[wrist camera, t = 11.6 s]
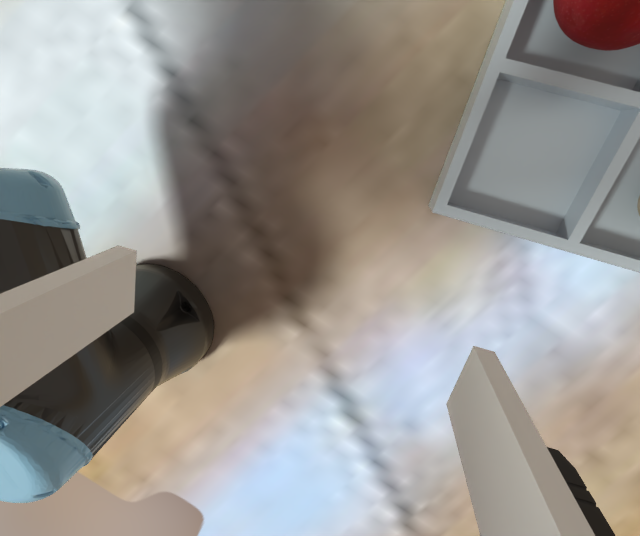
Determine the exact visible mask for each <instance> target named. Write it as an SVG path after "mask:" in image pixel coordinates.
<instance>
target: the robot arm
mask: <svg viewBox="0 0 640 536" xmlns="http://www.w3.org/2000/svg"><path fill="white" fill-rule="evenodd" d="M78 229H80V225H79V223H77V222H76V221H75V219H74V217H73V214H72V211H71V209H70V206H69V203H68V201H67V198H66V196H65V193H64V190H63V188H62V186H61V185H60V184H59V182H58V181H57V180H55V179H54V178H53V177H51V176H50V175H48V174H46V173H43V172H40V171H36V170H28V169H9V168H0V501H5V502H12V503H28V502H34V501H38V500H41V499H44V498H46V497H48V496H50V495H52V494H53V493H54V492H56V491H57V490H58V489H60V488H61V487H62V486H63V485H64V484H65V483H66V482H67V481H68V480H69V479H70V478H71V477H72V476H73V475H74V474H75V473H76V472H77V471H78V470H79V469H80V468H82V467H83V466H85V465H87V464H88V463H89V462H90V460H92V458H93V457H94V455H95V454H96V453H97V452H98V451H99V450H100V449H101V448H102V447H103V445H104V444H105V443H106V442H107V441H108V440H109V439H110V438H111V437H112V435H113V434H114V433H115V432H116V431H117V430H118V429H119V428H120V427H121V425H122V424H123V423H124V422H125V421H126V420H127V419H128V418H129V417H130V415H131V414H132V413H133V412H134V411H135V410H136V409H137V408H138V406H139V405H140V404H141V403H142V402H143V401H144V400H145V399H146V398H147V396H148V395H149V394H150V393H151V392H152V391H153V390H154V389H155V388H156V387H157V386H159V385H161V384H162V383H164V382H166V381H168V380H170V379H172V378H173V377H175V376H177V375H179V374H182V373H184V372H186V371H188V370H189V369H191V368H192V367H193V366H195V365H196V364H197V363H198V362H199V360H200V359H201V358H202V357H203V356H204V355H205V353H206V352H207V351H208V349H209V347H210V345H211V343H212V339H213V334H214V324H213V318H212V314H211V311H210V308H209V306H208V304H207V302H206V300H205V298H204V297H203V295H202V294H201V293H200V291H199V290H198V289H197V288H196V287H195V286H194V285H193V284H192V283H191V282H190V281H189V280H188V279H187V278H185V277H184V276H182V275H181V274H179V273H178V272H176V271H174V270H172V269H169V268H167V267H164V266H160V265H154V264H140V265H136V254H137V251H136V250H132V249H129V248H125V247H122V246H116V247H113V248H111V249H108V250H106V251H104V252H101V253H99V254H96V255H94V256H91V257H89V258H86V255H85V251H84V248H83V245H82V242H81V238H80V235H79V232H78ZM447 408H448V412H449V416H450V420H451V424H452V427H453V431H454V435H455V439H456V443H457V447H458V451H459V455H460V458H461V462H462V466H463V470H464V474H465V478H466V482H467V486H468V489H469V493H470V497H471V501H472V505H473V509H474V513H475V516H476V520H477V524H478V528H479V532H480V536H615V534H614V532H613V531H612V529H611V527H610V526H609V524H608V522H607V521H606V519H605V517H604V516H603V514H602V512H601V511H600V509H599V508H598V507H596V502H595V501H594V499H593V497H592V496H591V494H590V492H589V491H587V490H586V488H587V487H586V486H585V484H584V482H583V481H582V479H581V477H580V476H579V474H578V472H577V471H576V469H575V468H574V467H573V466H572V465H571V463H570V462H569V461H568V460H567V459H566V458H565V457H564V456H563V455H562V454H561V453H560V452H559V451H558V450H555V449H552V448H548V447H546V445H545V443H544V441H543V439H542V438H541V436H540V434H539V432H538V430H537V429H536V427H535V425H534V423H533V421H532V419H531V418H530V416H529V414H528V412H527V410H526V408H525V407H524V405H523V403H522V401H521V399H520V398H519V396H518V394H517V392H516V390H515V388H514V387H513V385H512V383H511V381H510V379H509V377H508V376H507V374H506V372H505V370H504V368H503V366H502V365H501V363H500V361H499V359H498V357H497V356H496V354H495V352H493V351H490V350H486V349H482V348H479V347H475V346H473V348H472V350H471V353H470V355H469V357H468V359H467V361H466V363H465V365H464V368H463V370H462V372H461V374H460V376H459V378H458V380H457V383H456V385H455V387H454V389H453V391H452V393H451V395H450V397H449V400H448V402H447Z"/></svg>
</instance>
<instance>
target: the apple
mask: <svg viewBox="0 0 640 536" xmlns="http://www.w3.org/2000/svg"><path fill="white" fill-rule="evenodd" d="M553 6H554V13H555V18H556V20H557V23H558V25H559V27H560V28H561V30H562V31H563V32H564V34H565V35H566V36H567V37H569V38H570V39H571V40H572V41H574V42H576V43H578V44H580V45H583V46H585V47H588V48H592V49H597V50H604V51H612V50H620V49H624V48H628V47H632V46H635V45H637V44H640V0H553Z"/></svg>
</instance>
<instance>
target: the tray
mask: <svg viewBox="0 0 640 536" xmlns="http://www.w3.org/2000/svg"><path fill="white" fill-rule="evenodd" d="M639 196H640V44H637V45H635V46H632V47H628V48H624V49H620V50H612V51H604V50H597V49H592V48H588V47H585V46H583V45H580V44H578V43H576V42H574V41H572V40H571V39H570V38H569V37H567V36H566V35H565V34H564V32H563V31H562V30H561V28H560V27H559V25H558V23H557V20H556V18H555V13H554V6H553V0H506V1H505V4H504V7H503V9H502V12H501V15H500V17H499V20H498V23H497V25H496V28H495V30H494V33H493V36H492V38H491V41H490V44H489V46H488V49H487V52H486V54H485V57H484V60H483V62H482V65H481V67H480V70H479V73H478V75H477V78H476V81H475V83H474V86H473V89H472V91H471V94H470V97H469V99H468V102H467V105H466V107H465V110H464V112H463V115H462V118H461V120H460V123H459V126H458V128H457V131H456V134H455V136H454V139H453V142H452V144H451V147H450V150H449V152H448V155H447V157H446V160H445V163H444V165H443V168H442V171H441V173H440V176H439V179H438V181H437V184H436V187H435V189H434V192H433V195H432V197H431V200H430V202H429V205H428V206H429V208H430V209H431V211H432V212H433V213H436V214H440V215H443V216H447V217H450V218H454V219H457V220H461V221H464V222H467V223H471V224H474V225H478V226H481V227H485V228H488V229H491V230H495V231H498V232H502V233H505V234H509V235H512V236H516V237H519V238H522V239H526V240H529V241H533V242H536V243H540V244H543V245H546V246H550V247H553V248H557V249H560V250H564V251H567V252H570V253H574V254H577V255H581V256H584V257H588V258H591V259H595V260H598V261H601V262H605V263H608V264H612V265H615V266H619V267H622V268H625V269H629V270H632V271H636V272H639V273H640V216H639V213H638V208H637V204H638V198H639Z"/></svg>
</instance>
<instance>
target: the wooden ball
mask: <svg viewBox="0 0 640 536" xmlns="http://www.w3.org/2000/svg"><path fill="white" fill-rule="evenodd" d="M637 208H638V213H639V216H640V196H639V198H638V204H637Z"/></svg>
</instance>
